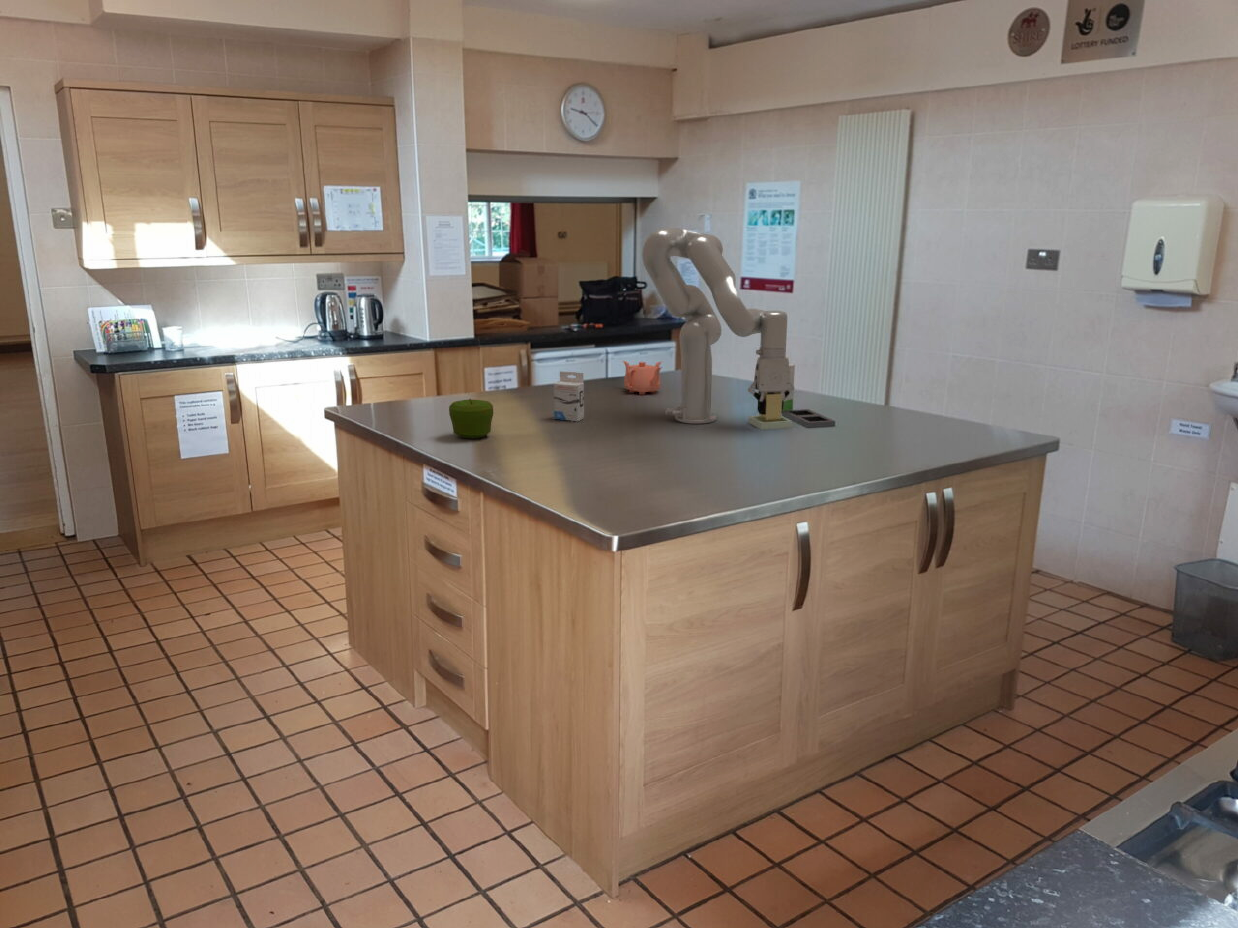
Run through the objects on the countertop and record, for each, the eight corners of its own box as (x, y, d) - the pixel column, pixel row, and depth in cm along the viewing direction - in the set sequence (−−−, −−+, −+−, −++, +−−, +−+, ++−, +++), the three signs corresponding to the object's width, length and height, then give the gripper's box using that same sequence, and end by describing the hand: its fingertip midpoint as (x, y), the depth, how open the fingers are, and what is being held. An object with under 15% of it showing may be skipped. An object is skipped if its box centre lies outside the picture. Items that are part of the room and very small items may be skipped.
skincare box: (781, 415, 295) (784, 367, 291) (763, 412, 299) (765, 365, 295) (793, 411, 302) (796, 363, 298) (775, 408, 306) (777, 361, 302)
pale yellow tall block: (765, 422, 277) (766, 394, 274) (759, 419, 281) (760, 391, 279) (781, 421, 278) (782, 393, 276) (774, 418, 282) (775, 390, 280)
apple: (450, 442, 261) (448, 403, 258) (450, 432, 273) (449, 395, 270) (494, 441, 263) (493, 402, 260) (493, 431, 275) (492, 393, 272)
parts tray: (761, 431, 274) (761, 423, 273) (748, 424, 283) (748, 416, 283) (792, 429, 277) (792, 421, 276) (778, 422, 286) (778, 414, 285)
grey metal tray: (807, 430, 276) (807, 422, 275) (781, 417, 293) (782, 410, 292) (834, 428, 278) (835, 421, 277) (808, 415, 295) (808, 409, 294)
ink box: (553, 420, 289) (552, 373, 286) (560, 416, 294) (559, 371, 290) (578, 422, 287) (577, 375, 283) (584, 418, 291) (584, 372, 287)
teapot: (622, 388, 341) (622, 358, 338) (661, 388, 340) (661, 359, 338) (621, 396, 327) (621, 365, 324) (662, 396, 326) (662, 365, 324)
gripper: (751, 356, 269) (748, 417, 273) (804, 354, 273) (801, 414, 278) (741, 352, 276) (739, 412, 280) (793, 350, 280) (790, 409, 285)
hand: (770, 412), depth 279 cm, fingers closed on pale yellow tall block, 5 cm apart
